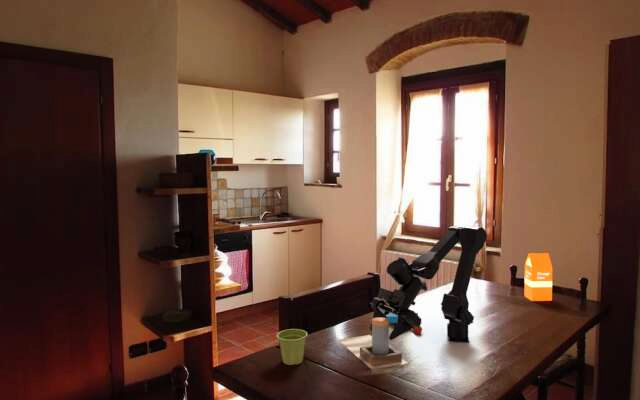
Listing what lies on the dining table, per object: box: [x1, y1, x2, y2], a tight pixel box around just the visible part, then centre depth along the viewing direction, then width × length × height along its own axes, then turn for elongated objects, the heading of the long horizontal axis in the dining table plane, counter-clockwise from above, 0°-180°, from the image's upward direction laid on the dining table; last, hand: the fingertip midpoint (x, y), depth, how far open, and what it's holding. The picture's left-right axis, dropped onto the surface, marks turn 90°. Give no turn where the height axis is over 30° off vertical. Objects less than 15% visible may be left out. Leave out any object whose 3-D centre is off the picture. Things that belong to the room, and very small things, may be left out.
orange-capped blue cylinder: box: [371, 317, 390, 356], centre depth 147 cm, size 5×5×12 cm
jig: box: [337, 334, 409, 374], centre depth 153 cm, size 26×12×4 cm, turn 20°
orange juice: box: [524, 252, 553, 302], centre depth 211 cm, size 8×9×20 cm
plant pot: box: [276, 328, 308, 366], centre depth 148 cm, size 9×9×9 cm
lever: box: [386, 312, 423, 335], centre depth 177 cm, size 7×7×18 cm
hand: (380, 334), depth 147 cm, fingers open, 9 cm apart
